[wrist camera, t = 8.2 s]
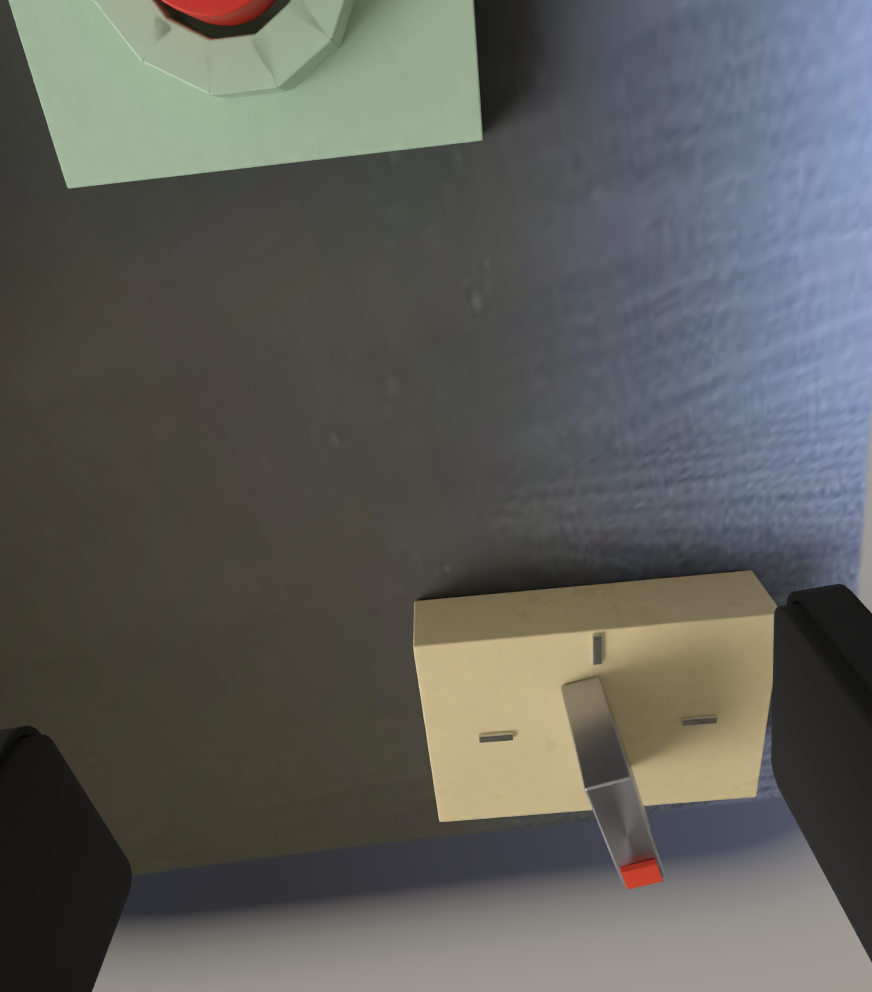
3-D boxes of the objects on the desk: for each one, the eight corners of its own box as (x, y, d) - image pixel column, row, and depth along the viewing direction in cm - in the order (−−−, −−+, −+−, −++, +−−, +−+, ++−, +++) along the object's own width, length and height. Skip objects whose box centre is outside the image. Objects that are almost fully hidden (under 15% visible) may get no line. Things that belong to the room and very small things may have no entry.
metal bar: (559, 685, 28) (585, 795, 24) (599, 674, 28) (633, 783, 23) (595, 777, 31) (625, 893, 26) (631, 767, 30) (668, 883, 26)
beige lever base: (751, 569, 30) (785, 616, 27) (731, 744, 34) (758, 800, 31) (414, 600, 30) (412, 649, 27) (438, 769, 35) (439, 825, 32)
